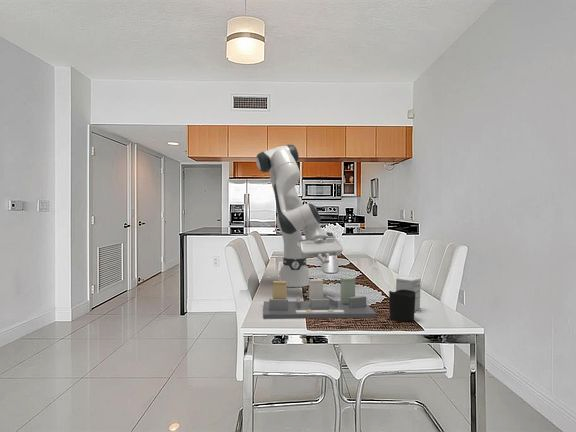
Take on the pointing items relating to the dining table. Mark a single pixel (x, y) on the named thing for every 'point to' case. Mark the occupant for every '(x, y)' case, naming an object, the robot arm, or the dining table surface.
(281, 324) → the dining table surface
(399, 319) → the pen holder
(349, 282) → the key sage
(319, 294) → the key cream
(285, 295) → the key ochre
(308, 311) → the keypad console
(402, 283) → the supplement box
